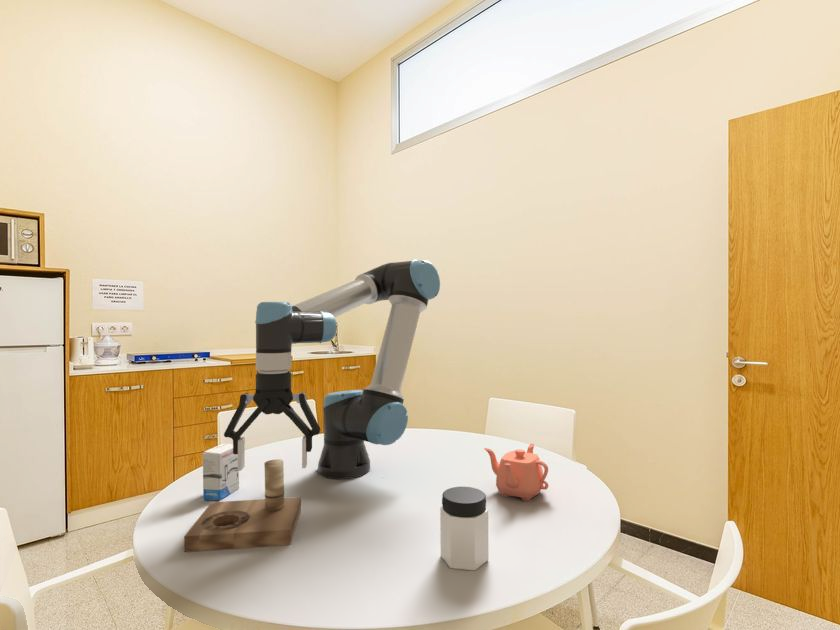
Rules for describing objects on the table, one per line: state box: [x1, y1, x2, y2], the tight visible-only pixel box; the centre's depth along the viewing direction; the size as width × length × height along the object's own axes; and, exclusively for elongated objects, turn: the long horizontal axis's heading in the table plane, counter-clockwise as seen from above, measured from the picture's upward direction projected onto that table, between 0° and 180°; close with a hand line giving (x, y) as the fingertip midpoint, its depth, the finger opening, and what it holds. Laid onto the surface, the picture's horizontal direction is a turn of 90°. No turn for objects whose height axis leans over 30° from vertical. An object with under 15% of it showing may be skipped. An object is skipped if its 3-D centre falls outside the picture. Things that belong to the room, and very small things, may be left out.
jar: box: [439, 486, 490, 571], centre depth 85 cm, size 9×8×12 cm
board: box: [183, 496, 302, 553], centre depth 97 cm, size 20×16×3 cm
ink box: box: [202, 443, 240, 501], centre depth 116 cm, size 9×5×12 cm, turn 168°
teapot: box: [483, 443, 549, 502], centre depth 115 cm, size 14×14×11 cm
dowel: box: [263, 459, 285, 511], centre depth 101 cm, size 4×4×10 cm
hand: (273, 467), depth 100 cm, fingers open, 13 cm apart
